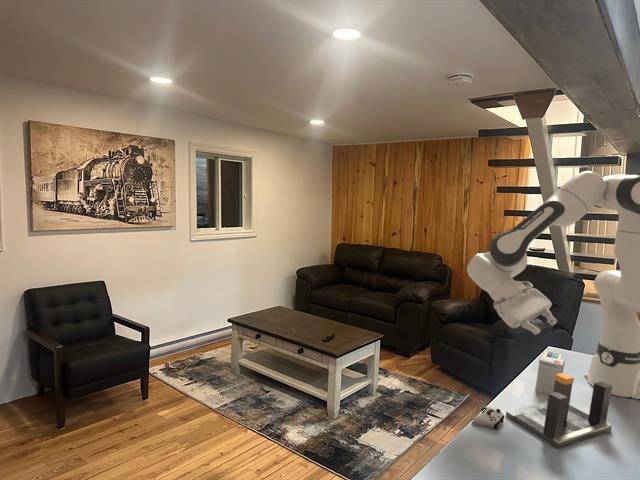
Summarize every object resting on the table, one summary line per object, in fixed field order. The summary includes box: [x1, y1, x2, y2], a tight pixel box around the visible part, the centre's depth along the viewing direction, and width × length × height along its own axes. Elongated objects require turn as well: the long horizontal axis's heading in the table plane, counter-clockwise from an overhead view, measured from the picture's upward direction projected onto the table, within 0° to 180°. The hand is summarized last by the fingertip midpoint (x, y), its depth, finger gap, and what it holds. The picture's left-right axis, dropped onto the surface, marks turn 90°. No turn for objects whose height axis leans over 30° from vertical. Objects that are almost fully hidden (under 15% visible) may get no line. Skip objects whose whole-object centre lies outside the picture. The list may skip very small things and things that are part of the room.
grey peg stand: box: [505, 382, 613, 450], centre depth 119 cm, size 22×16×12 cm
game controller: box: [471, 406, 505, 431], centre depth 119 cm, size 10×5×6 cm
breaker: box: [553, 372, 575, 421], centre depth 119 cm, size 3×3×12 cm
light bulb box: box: [534, 350, 566, 396], centre depth 141 cm, size 11×7×11 cm, turn 146°
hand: (547, 327), depth 127 cm, fingers open, 8 cm apart
